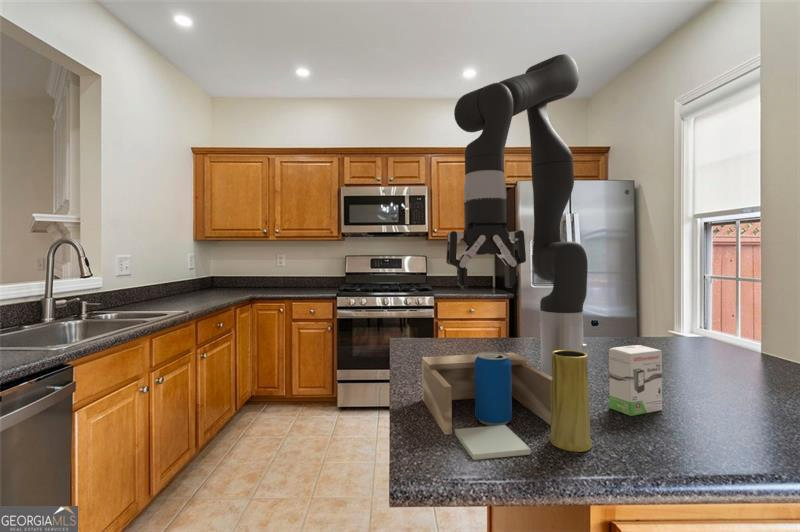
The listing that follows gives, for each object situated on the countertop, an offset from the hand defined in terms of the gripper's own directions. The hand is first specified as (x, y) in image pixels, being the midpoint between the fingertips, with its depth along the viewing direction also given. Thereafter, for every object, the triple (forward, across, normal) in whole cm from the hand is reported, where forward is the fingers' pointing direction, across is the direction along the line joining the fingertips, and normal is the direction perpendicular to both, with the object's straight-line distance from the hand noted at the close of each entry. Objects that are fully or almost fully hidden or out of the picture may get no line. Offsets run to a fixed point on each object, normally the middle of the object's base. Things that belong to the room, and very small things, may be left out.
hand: (486, 288), depth 72 cm
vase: (+24, -9, +11) cm, 28 cm away
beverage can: (+24, -1, +1) cm, 24 cm away
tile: (+24, +3, +9) cm, 26 cm away
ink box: (+24, -30, 0) cm, 38 cm away
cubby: (+24, 0, -3) cm, 24 cm away
